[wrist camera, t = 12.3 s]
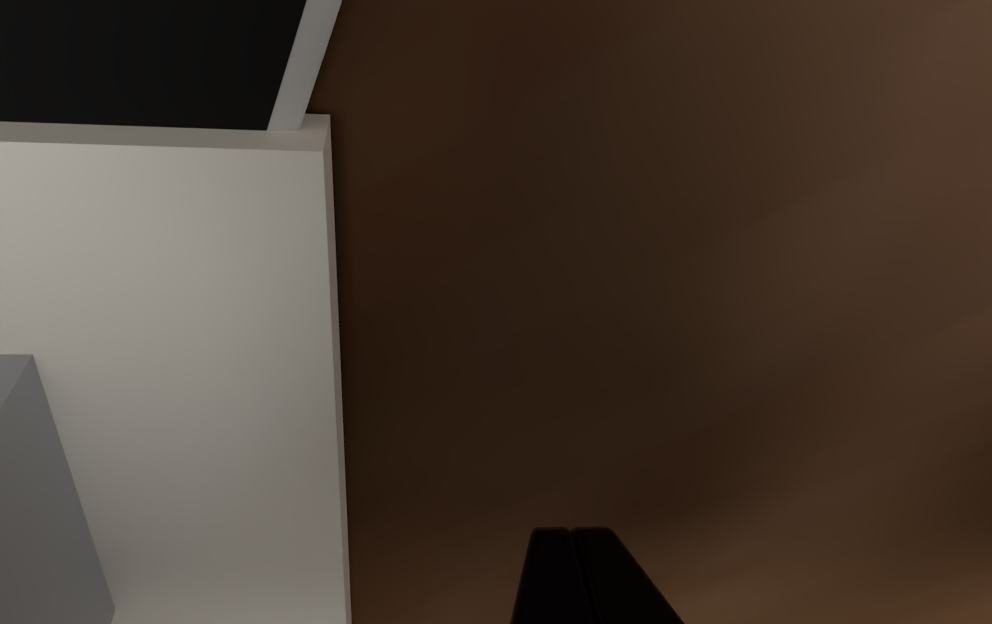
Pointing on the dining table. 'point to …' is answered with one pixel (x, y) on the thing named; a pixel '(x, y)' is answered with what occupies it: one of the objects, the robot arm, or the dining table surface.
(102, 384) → the port
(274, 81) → the smartphone
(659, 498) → the dining table surface
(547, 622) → the robot arm
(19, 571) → the plug
